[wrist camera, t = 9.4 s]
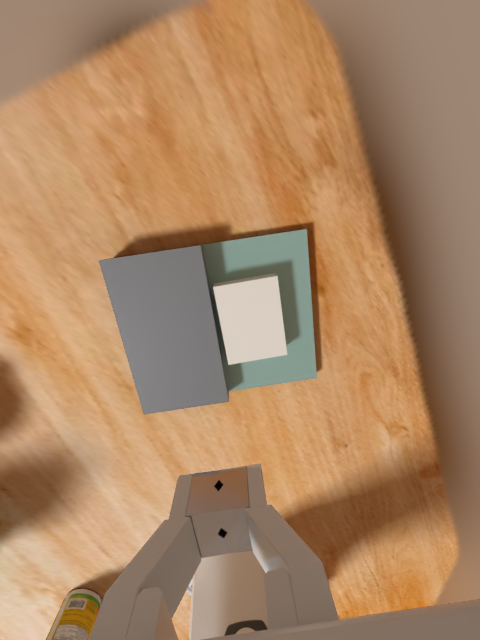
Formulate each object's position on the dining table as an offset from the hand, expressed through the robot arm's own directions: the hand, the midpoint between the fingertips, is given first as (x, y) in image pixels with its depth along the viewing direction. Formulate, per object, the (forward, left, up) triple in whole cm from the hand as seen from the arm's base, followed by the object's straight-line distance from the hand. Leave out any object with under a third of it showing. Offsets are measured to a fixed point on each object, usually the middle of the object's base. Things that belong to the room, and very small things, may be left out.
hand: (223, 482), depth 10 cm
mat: (0, -4, -20) cm, 20 cm away
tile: (0, -3, -19) cm, 19 cm away
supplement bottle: (-40, +28, -20) cm, 53 cm away
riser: (0, +6, -20) cm, 21 cm away
